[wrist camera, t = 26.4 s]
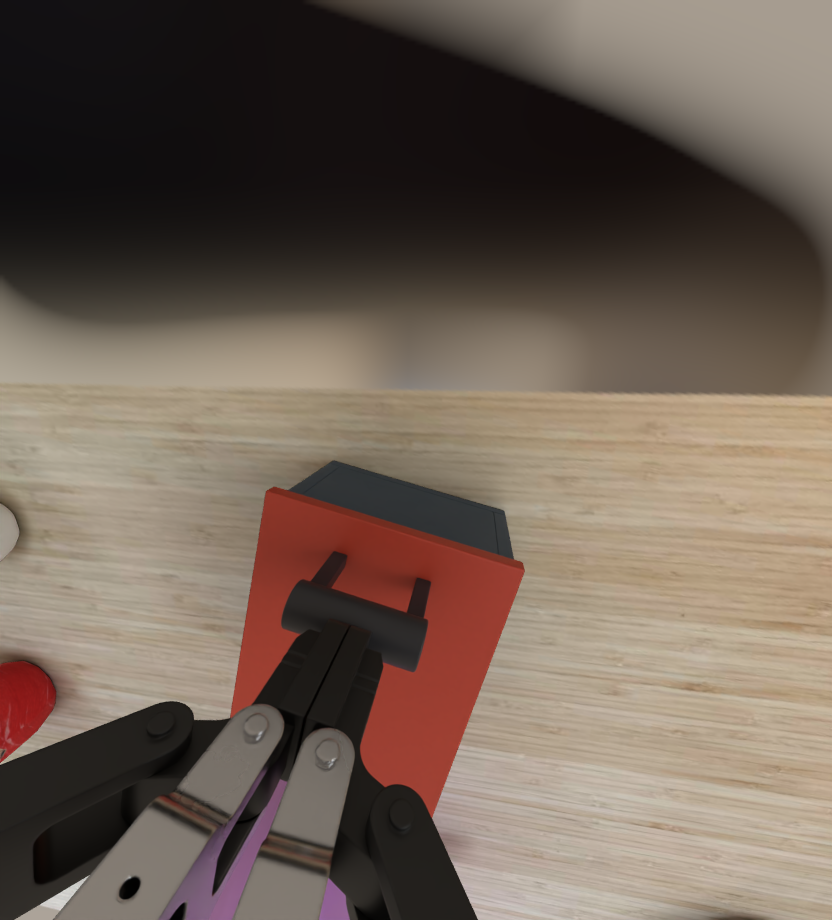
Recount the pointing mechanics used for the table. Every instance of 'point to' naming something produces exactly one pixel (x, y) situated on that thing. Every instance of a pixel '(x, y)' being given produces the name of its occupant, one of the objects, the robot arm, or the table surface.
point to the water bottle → (22, 703)
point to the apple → (7, 531)
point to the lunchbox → (410, 506)
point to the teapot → (334, 901)
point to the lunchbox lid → (381, 624)
